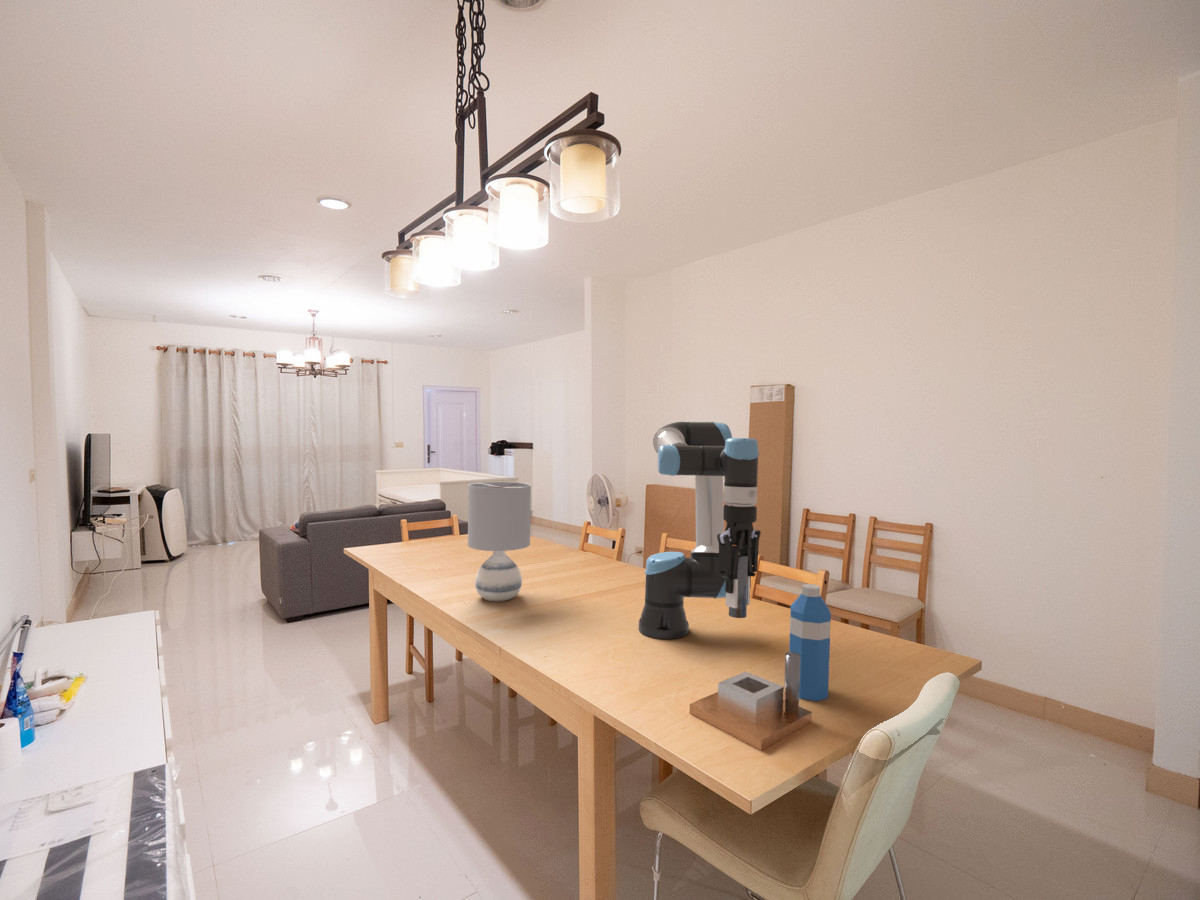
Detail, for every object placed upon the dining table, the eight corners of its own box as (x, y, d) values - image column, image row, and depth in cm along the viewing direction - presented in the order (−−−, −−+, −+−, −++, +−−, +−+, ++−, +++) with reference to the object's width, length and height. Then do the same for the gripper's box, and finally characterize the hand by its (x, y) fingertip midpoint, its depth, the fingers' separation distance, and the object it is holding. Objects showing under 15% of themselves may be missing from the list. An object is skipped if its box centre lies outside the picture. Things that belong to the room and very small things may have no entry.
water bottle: (780, 683, 138) (783, 581, 137) (817, 682, 139) (821, 580, 138) (796, 701, 129) (800, 592, 128) (836, 700, 130) (840, 591, 129)
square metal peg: (725, 614, 133) (726, 554, 133) (735, 611, 135) (737, 553, 135) (739, 619, 130) (740, 557, 129) (750, 616, 132) (751, 555, 132)
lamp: (524, 608, 192) (526, 488, 190) (460, 606, 192) (461, 487, 190) (532, 590, 213) (534, 482, 212) (475, 588, 213) (476, 481, 212)
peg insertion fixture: (689, 713, 123) (691, 648, 122) (741, 690, 134) (742, 631, 133) (760, 750, 109) (763, 678, 108) (811, 721, 120) (813, 655, 120)
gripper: (730, 508, 124) (727, 615, 124) (775, 504, 135) (773, 602, 135) (703, 504, 130) (701, 607, 130) (749, 501, 140) (746, 595, 141)
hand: (737, 604), depth 132 cm, fingers closed on square metal peg, 4 cm apart
